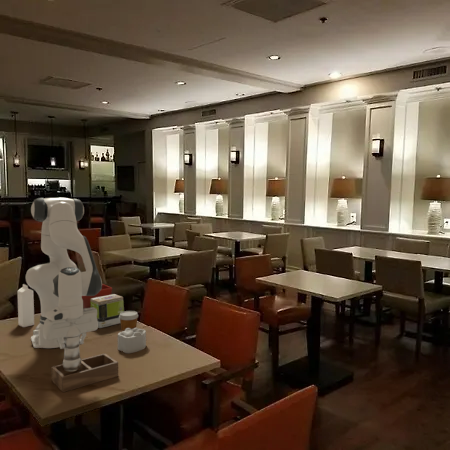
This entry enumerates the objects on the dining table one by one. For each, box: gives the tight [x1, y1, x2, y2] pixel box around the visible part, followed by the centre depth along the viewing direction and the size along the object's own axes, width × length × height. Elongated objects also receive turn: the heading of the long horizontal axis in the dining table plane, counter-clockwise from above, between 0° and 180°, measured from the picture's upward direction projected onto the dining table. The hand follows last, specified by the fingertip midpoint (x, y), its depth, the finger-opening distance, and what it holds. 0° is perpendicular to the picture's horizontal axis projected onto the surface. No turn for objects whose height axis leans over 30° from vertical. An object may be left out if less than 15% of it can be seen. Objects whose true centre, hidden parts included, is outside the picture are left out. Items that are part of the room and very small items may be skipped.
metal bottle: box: [62, 321, 82, 371], centre depth 167 cm, size 6×7×20 cm
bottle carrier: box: [51, 353, 119, 393], centre depth 172 cm, size 12×22×6 cm, turn 131°
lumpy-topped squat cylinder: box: [117, 327, 147, 354], centre depth 205 cm, size 10×13×9 cm
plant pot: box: [82, 283, 113, 308], centre depth 254 cm, size 19×19×17 cm
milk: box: [17, 283, 35, 328], centre depth 235 cm, size 6×6×22 cm
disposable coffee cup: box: [119, 310, 139, 332], centre depth 219 cm, size 10×10×12 cm
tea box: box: [90, 293, 125, 329], centre depth 239 cm, size 15×10×15 cm, turn 133°
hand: (71, 346), depth 167 cm, fingers closed on metal bottle, 6 cm apart
